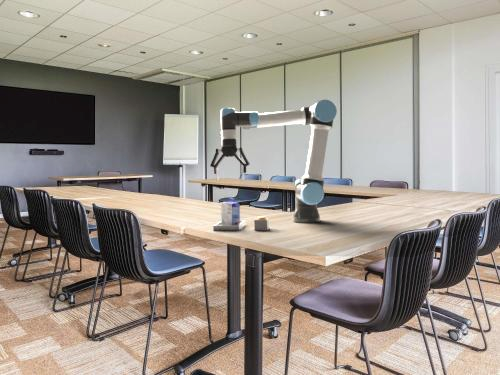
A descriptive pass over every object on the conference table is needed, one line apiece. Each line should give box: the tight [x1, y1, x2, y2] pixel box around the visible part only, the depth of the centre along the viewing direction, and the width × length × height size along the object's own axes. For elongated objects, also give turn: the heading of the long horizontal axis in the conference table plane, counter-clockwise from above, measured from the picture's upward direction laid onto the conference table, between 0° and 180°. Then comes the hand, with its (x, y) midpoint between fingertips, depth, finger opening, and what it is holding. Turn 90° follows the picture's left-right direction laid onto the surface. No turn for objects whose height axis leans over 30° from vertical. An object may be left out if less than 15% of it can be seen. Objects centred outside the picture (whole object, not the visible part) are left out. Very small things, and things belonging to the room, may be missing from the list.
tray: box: [212, 220, 247, 231], centre depth 210 cm, size 13×17×2 cm
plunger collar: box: [253, 217, 270, 231], centre depth 202 cm, size 6×6×5 cm
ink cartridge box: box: [220, 197, 241, 225], centre depth 210 cm, size 10×6×14 cm, turn 38°
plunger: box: [257, 216, 266, 220], centre depth 202 cm, size 4×4×5 cm
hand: (230, 180), depth 210 cm, fingers open, 13 cm apart
